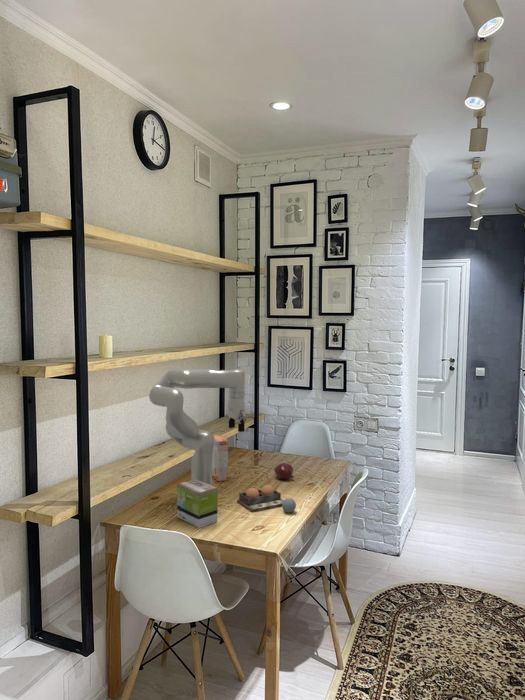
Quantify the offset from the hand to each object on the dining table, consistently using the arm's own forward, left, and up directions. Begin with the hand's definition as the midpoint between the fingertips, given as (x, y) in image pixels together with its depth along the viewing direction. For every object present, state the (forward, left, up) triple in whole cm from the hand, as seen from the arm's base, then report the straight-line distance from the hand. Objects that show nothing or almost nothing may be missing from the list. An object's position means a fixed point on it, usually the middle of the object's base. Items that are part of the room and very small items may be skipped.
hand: (236, 429), depth 259 cm
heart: (+28, 0, -29) cm, 40 cm away
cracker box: (-1, +17, -28) cm, 33 cm away
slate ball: (+4, -41, -25) cm, 48 cm away
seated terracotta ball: (+3, -25, -24) cm, 35 cm away
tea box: (-34, -30, -29) cm, 54 cm away
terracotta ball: (-5, -25, -24) cm, 35 cm away
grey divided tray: (-1, -27, -28) cm, 39 cm away
